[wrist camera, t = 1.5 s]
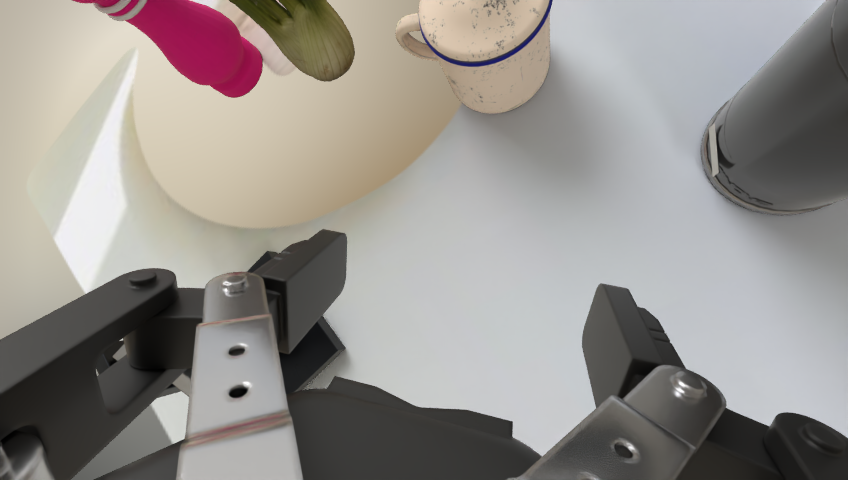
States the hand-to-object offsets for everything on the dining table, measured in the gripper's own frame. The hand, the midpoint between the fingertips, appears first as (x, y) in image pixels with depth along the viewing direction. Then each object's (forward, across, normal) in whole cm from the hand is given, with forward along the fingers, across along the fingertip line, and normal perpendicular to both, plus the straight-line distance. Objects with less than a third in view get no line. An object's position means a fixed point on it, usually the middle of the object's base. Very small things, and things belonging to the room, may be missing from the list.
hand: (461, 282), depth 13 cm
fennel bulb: (+30, +18, -5) cm, 35 cm away
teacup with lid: (+28, +3, -7) cm, 29 cm away
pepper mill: (+31, +30, -4) cm, 43 cm away
